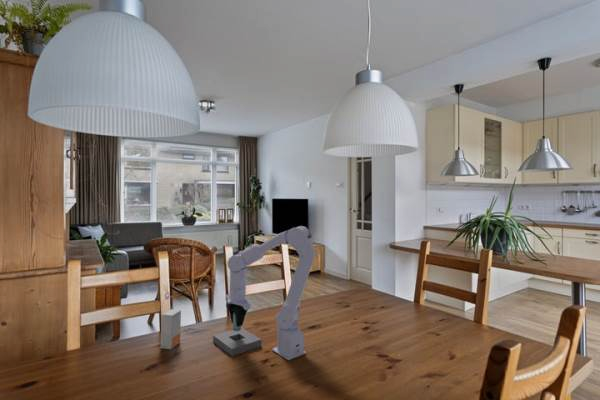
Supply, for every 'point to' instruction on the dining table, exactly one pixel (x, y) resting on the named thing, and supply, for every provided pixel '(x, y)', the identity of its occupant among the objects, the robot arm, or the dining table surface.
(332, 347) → the dining table surface
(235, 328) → the peg
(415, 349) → the dining table surface
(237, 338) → the peg block
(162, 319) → the skincare box
